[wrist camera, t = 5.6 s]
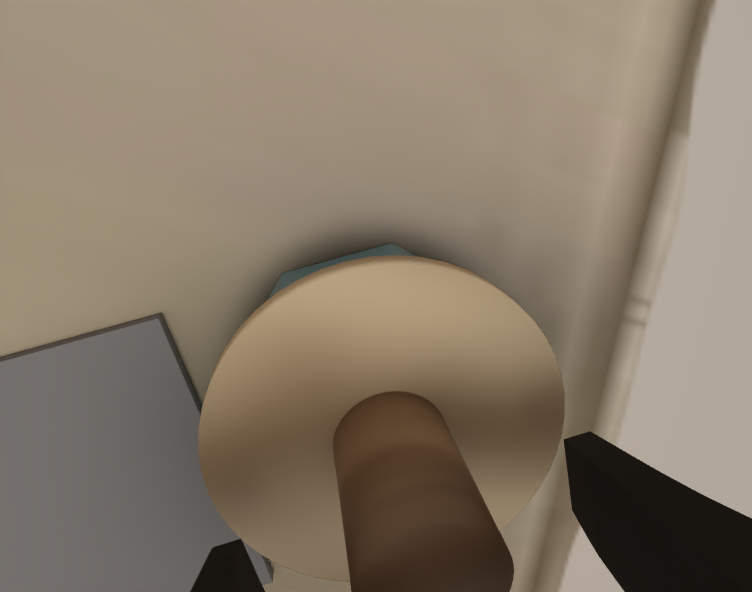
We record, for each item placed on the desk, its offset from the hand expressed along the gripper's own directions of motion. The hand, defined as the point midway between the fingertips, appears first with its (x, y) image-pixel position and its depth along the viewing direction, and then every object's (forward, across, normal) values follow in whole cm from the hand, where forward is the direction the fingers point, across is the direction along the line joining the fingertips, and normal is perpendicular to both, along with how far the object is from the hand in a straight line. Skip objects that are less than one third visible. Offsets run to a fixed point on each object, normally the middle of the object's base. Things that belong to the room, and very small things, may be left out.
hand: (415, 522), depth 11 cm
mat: (+7, +11, +2) cm, 13 cm away
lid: (+3, 0, 0) cm, 3 cm away
